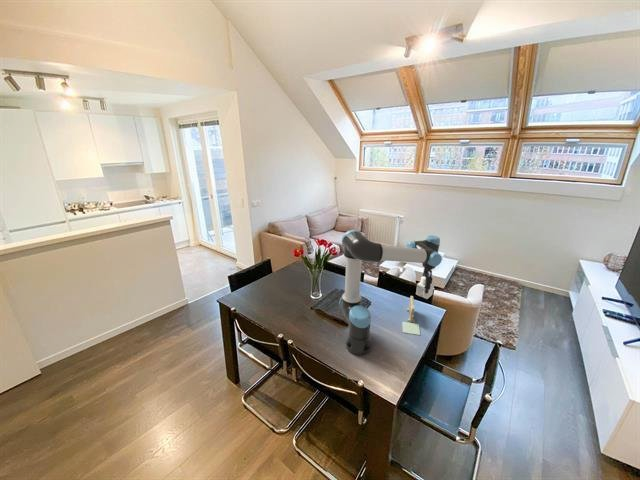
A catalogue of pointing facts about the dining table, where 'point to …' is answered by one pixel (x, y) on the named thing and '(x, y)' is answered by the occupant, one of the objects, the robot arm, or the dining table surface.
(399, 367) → the dining table surface
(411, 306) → the screen
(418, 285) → the container
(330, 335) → the dining table surface
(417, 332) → the mat
